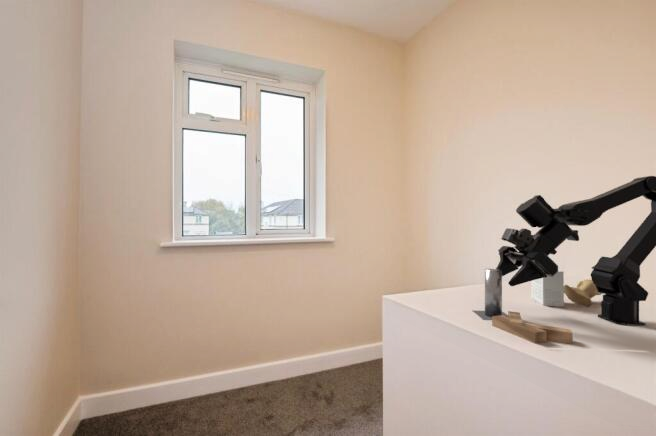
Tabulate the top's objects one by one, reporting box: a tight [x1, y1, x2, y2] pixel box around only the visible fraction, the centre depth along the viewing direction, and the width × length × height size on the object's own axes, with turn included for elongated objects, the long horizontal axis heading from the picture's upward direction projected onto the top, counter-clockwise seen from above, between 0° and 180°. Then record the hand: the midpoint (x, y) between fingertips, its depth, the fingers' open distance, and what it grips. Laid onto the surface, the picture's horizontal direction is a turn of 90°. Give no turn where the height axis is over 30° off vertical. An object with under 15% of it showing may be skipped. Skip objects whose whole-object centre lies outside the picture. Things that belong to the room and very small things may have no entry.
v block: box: [491, 310, 574, 345], centre depth 69 cm, size 9×15×2 cm, turn 17°
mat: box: [471, 309, 508, 321], centre depth 81 cm, size 8×8×1 cm
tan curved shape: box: [564, 279, 604, 307], centre depth 96 cm, size 8×7×12 cm
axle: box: [484, 268, 503, 317], centre depth 81 cm, size 4×4×12 cm
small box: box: [530, 269, 565, 308], centre depth 95 cm, size 8×6×10 cm
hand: (501, 281), depth 81 cm, fingers open, 9 cm apart
